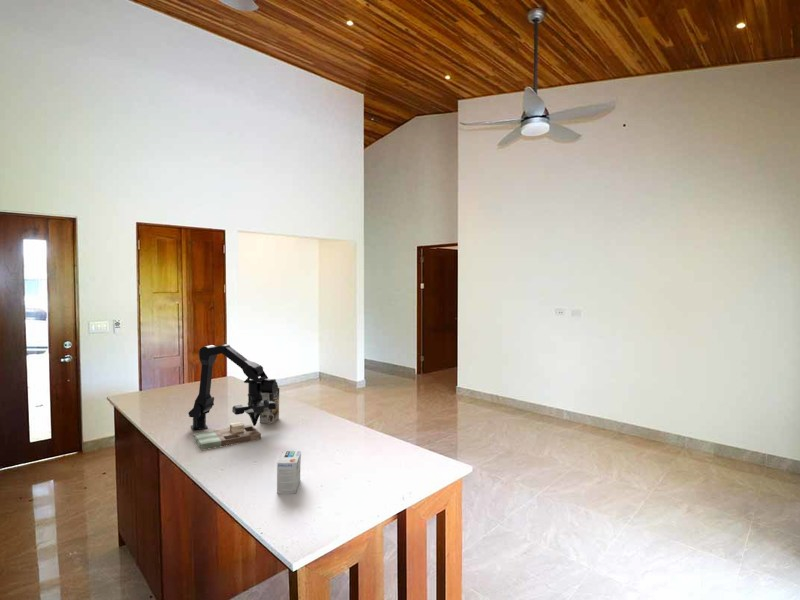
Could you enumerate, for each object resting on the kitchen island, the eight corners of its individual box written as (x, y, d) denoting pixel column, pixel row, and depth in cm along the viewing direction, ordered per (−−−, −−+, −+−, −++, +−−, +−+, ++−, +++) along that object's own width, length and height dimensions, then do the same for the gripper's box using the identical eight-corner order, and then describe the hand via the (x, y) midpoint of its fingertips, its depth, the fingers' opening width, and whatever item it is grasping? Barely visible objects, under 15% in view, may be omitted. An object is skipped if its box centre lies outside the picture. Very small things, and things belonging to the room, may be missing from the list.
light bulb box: (281, 479, 162) (282, 450, 161) (300, 479, 162) (301, 450, 162) (276, 494, 151) (276, 462, 150) (296, 493, 152) (297, 462, 151)
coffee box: (271, 423, 222) (271, 391, 222) (259, 422, 224) (259, 390, 223) (279, 418, 231) (280, 387, 231) (268, 417, 233) (268, 386, 232)
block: (229, 430, 205) (229, 423, 205) (240, 428, 208) (241, 421, 207) (232, 433, 201) (232, 426, 200) (244, 431, 203) (244, 424, 203)
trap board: (194, 439, 199) (194, 433, 199) (250, 429, 213) (251, 424, 213) (201, 450, 187) (201, 444, 187) (260, 439, 201) (260, 433, 201)
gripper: (238, 399, 196) (238, 434, 197) (280, 393, 207) (279, 427, 207) (232, 393, 205) (231, 427, 206) (272, 388, 216) (271, 420, 216)
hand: (254, 425), depth 209 cm, fingers closed
